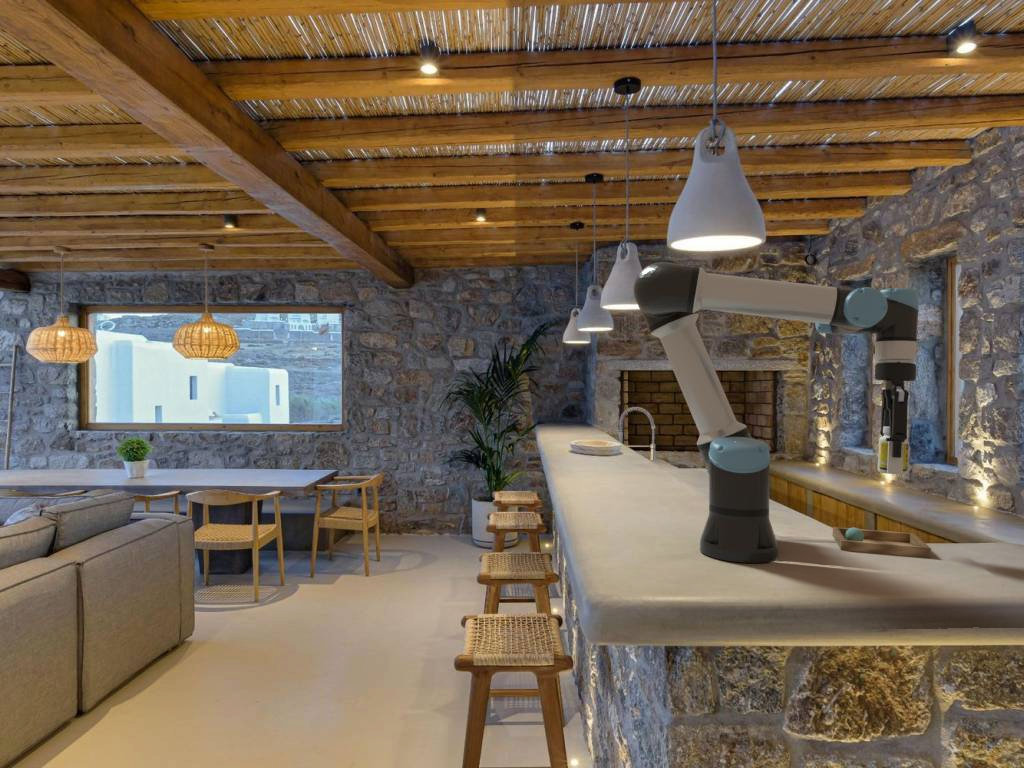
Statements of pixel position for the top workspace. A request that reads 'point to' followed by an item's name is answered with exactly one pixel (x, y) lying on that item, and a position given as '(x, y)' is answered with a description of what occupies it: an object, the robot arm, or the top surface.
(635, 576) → the top surface
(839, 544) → the tray
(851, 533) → the ball
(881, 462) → the supplement bottle
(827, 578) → the top surface
